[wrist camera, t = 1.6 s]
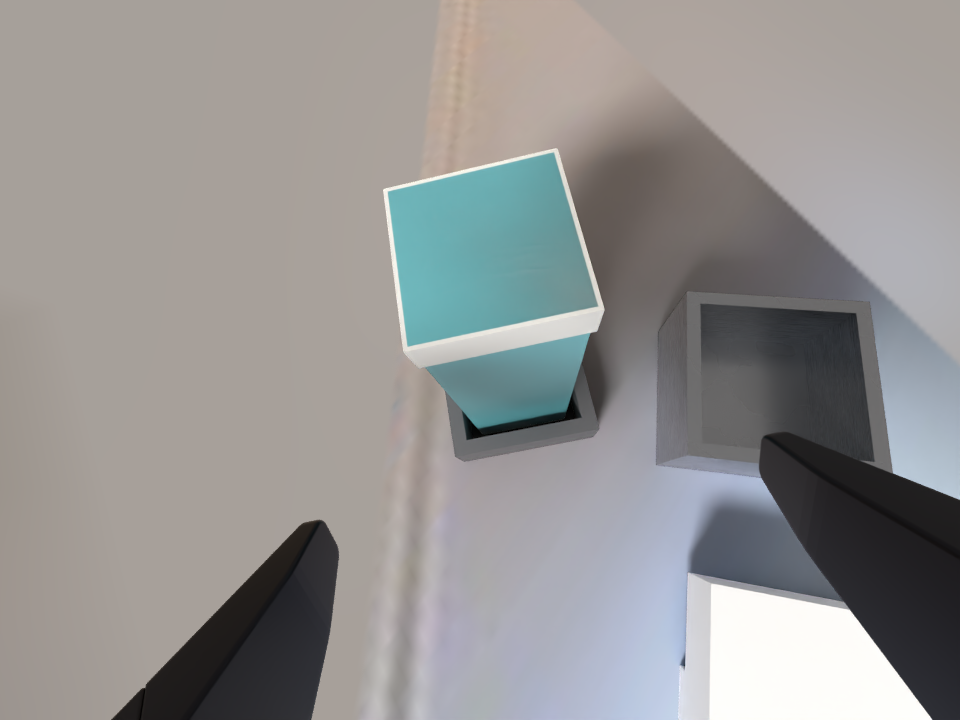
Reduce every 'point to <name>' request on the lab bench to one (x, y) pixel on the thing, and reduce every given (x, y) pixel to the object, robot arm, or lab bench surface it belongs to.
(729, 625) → the bracket
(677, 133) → the lab bench surface
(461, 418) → the frame
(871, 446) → the box
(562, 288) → the plug
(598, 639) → the lab bench surface
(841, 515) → the robot arm
